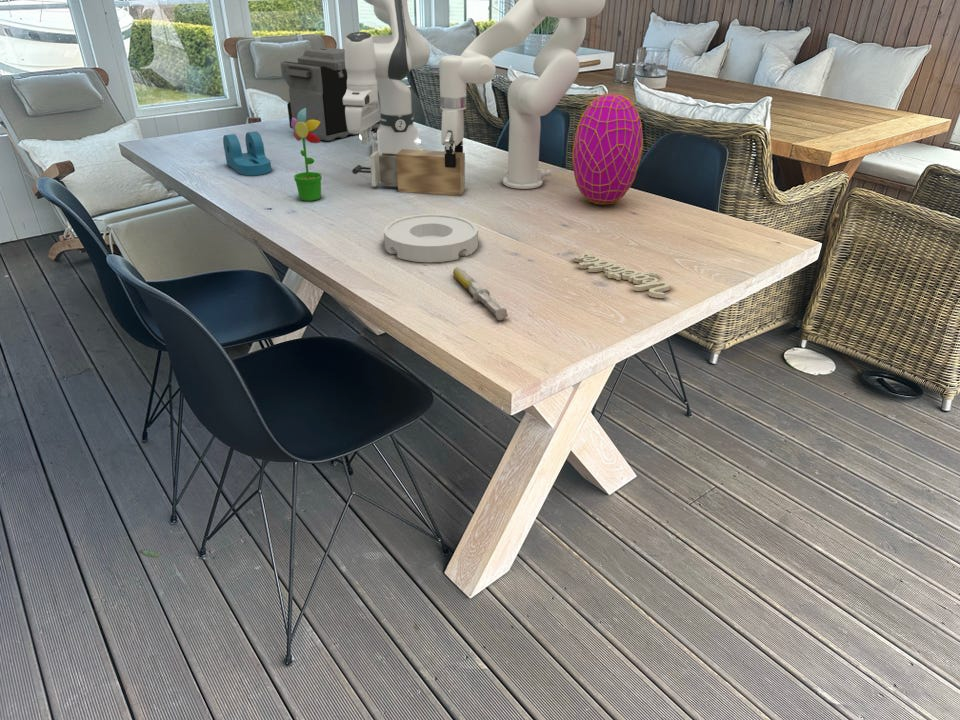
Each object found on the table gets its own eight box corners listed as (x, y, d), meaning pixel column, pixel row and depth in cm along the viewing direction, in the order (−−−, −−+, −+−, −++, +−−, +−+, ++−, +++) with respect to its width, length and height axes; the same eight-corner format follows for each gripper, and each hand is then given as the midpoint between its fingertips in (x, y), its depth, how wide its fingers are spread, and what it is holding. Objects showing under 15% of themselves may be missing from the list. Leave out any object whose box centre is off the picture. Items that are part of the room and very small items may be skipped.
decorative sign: (686, 282, 150) (660, 295, 144) (686, 286, 150) (659, 300, 144) (592, 249, 166) (565, 259, 160) (592, 253, 167) (565, 263, 161)
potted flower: (330, 196, 204) (321, 108, 191) (314, 203, 197) (304, 113, 185) (304, 192, 207) (294, 105, 194) (288, 199, 201) (276, 109, 188)
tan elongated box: (397, 191, 209) (396, 154, 203) (403, 185, 215) (402, 149, 209) (460, 195, 206) (460, 157, 200) (464, 189, 212) (464, 152, 206)
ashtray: (391, 227, 181) (390, 212, 179) (479, 229, 180) (479, 214, 178) (377, 261, 161) (376, 245, 159) (476, 263, 160) (476, 247, 158)
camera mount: (227, 164, 233) (221, 132, 227) (257, 160, 238) (252, 129, 233) (244, 176, 220) (239, 143, 215) (276, 172, 225) (271, 139, 220)
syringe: (449, 274, 155) (449, 263, 153) (465, 272, 156) (464, 260, 154) (490, 323, 135) (491, 310, 133) (508, 319, 136) (508, 307, 134)
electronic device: (351, 120, 297) (345, 44, 282) (389, 127, 286) (385, 48, 271) (285, 135, 271) (274, 52, 256) (324, 143, 260) (315, 57, 245)
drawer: (352, 185, 211) (350, 154, 207) (358, 180, 216) (356, 149, 211) (430, 190, 208) (429, 158, 203) (434, 185, 212) (433, 154, 207)
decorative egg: (611, 217, 189) (624, 103, 174) (555, 202, 201) (562, 94, 185) (647, 202, 202) (662, 94, 186) (592, 188, 213) (602, 86, 198)
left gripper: (364, 88, 209) (367, 134, 216) (340, 99, 192) (344, 150, 199) (384, 89, 208) (386, 135, 215) (361, 100, 191) (365, 151, 198)
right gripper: (447, 97, 204) (448, 155, 213) (433, 108, 190) (434, 170, 198) (472, 98, 203) (472, 156, 212) (459, 109, 188) (460, 171, 197)
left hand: (366, 142), depth 207 cm, fingers closed
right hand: (454, 163), depth 205 cm, fingers open, 9 cm apart
